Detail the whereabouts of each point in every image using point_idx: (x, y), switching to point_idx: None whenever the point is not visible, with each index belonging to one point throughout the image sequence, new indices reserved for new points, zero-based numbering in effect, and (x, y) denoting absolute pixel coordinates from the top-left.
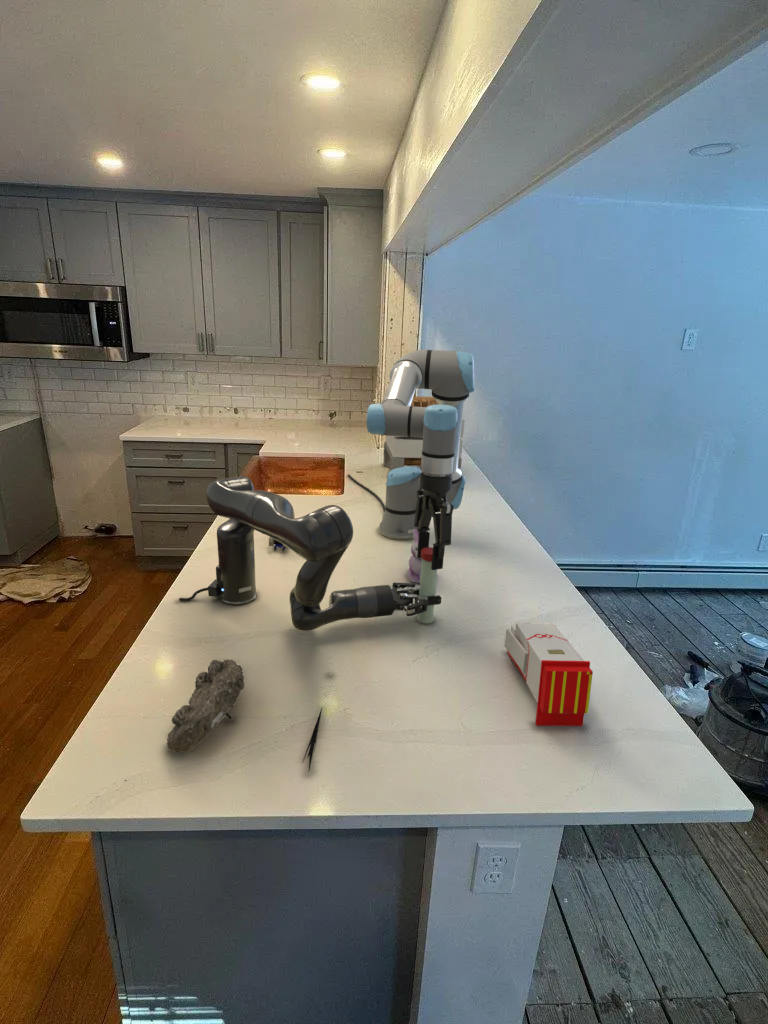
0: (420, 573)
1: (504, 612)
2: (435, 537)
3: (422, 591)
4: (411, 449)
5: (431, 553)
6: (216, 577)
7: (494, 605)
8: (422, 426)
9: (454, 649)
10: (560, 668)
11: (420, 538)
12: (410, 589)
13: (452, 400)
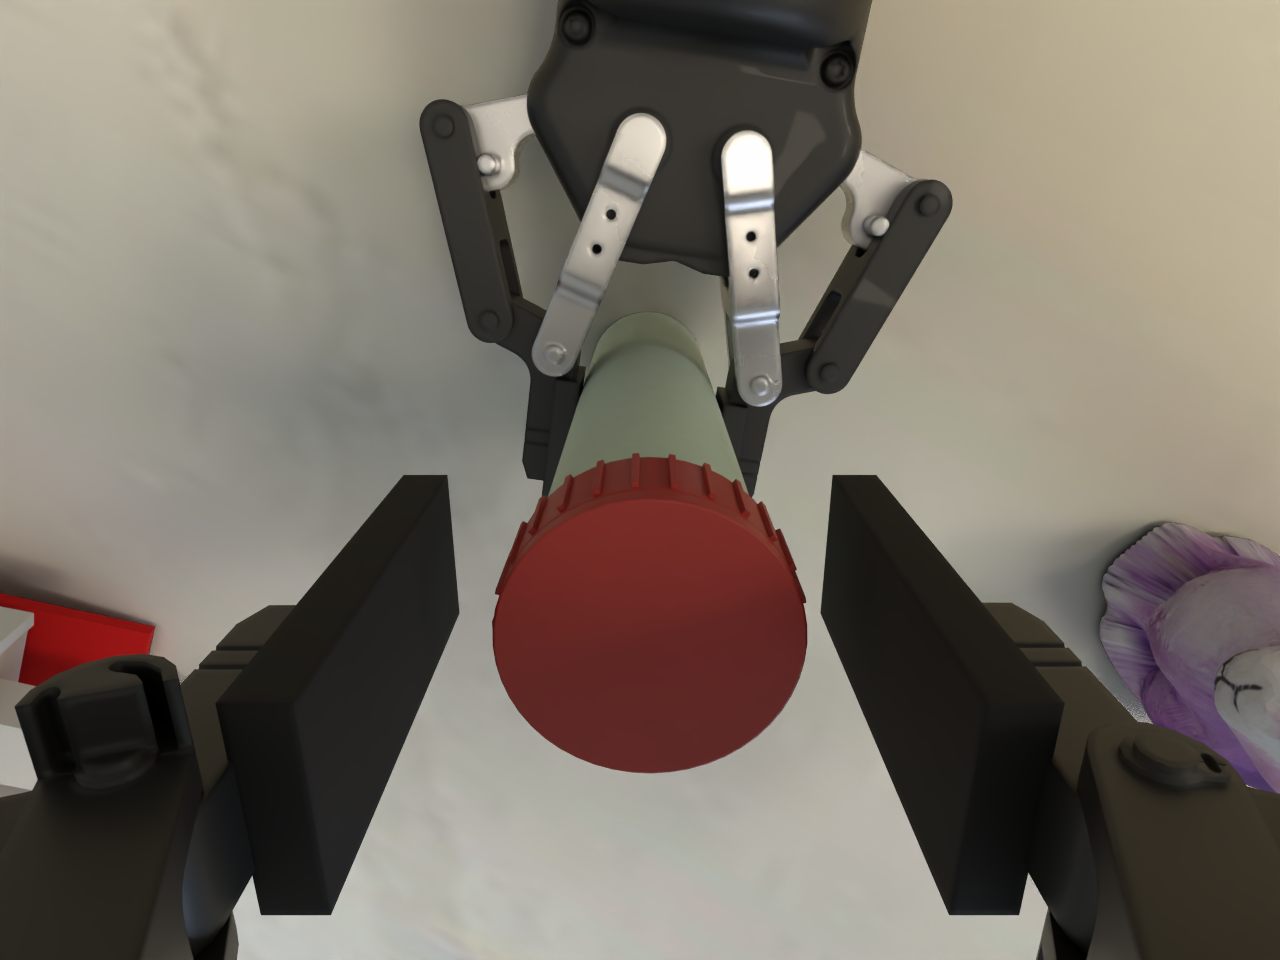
0: (1161, 609)
1: (557, 831)
2: (117, 871)
3: (619, 365)
4: None
5: (542, 609)
6: None
7: (646, 826)
8: None
9: (257, 367)
10: None
11: (941, 651)
12: (729, 288)
13: None
